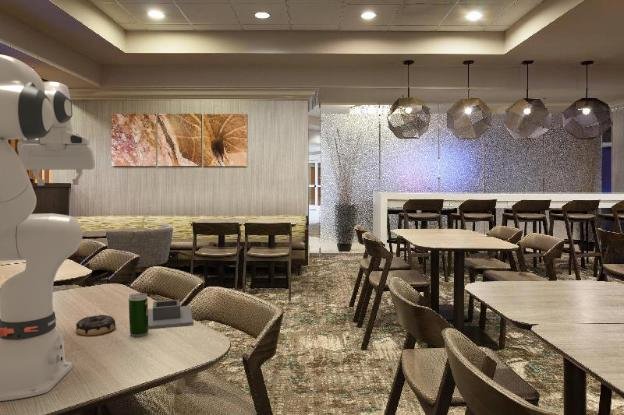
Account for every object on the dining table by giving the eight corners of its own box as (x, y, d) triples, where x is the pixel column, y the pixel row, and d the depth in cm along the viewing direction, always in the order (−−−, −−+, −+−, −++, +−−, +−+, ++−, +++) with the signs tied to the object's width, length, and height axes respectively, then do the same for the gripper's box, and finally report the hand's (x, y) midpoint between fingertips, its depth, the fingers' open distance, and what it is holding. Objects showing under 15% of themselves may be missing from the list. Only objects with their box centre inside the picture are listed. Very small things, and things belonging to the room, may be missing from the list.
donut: (100, 323, 158) (99, 311, 158) (124, 329, 152) (123, 316, 152) (68, 333, 149) (67, 320, 148) (92, 339, 143) (91, 326, 142)
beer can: (132, 338, 143) (130, 298, 142) (128, 333, 147) (126, 294, 146) (150, 334, 146) (149, 295, 145) (146, 330, 150) (144, 292, 149)
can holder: (193, 324, 155) (192, 309, 154) (140, 330, 150) (139, 314, 150) (190, 308, 174) (190, 294, 174) (143, 312, 169) (142, 298, 169)
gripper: (13, 137, 138) (16, 186, 139) (91, 138, 144) (93, 184, 145) (19, 139, 144) (22, 185, 145) (94, 139, 150) (96, 184, 151)
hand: (58, 185), depth 145 cm, fingers open, 8 cm apart
